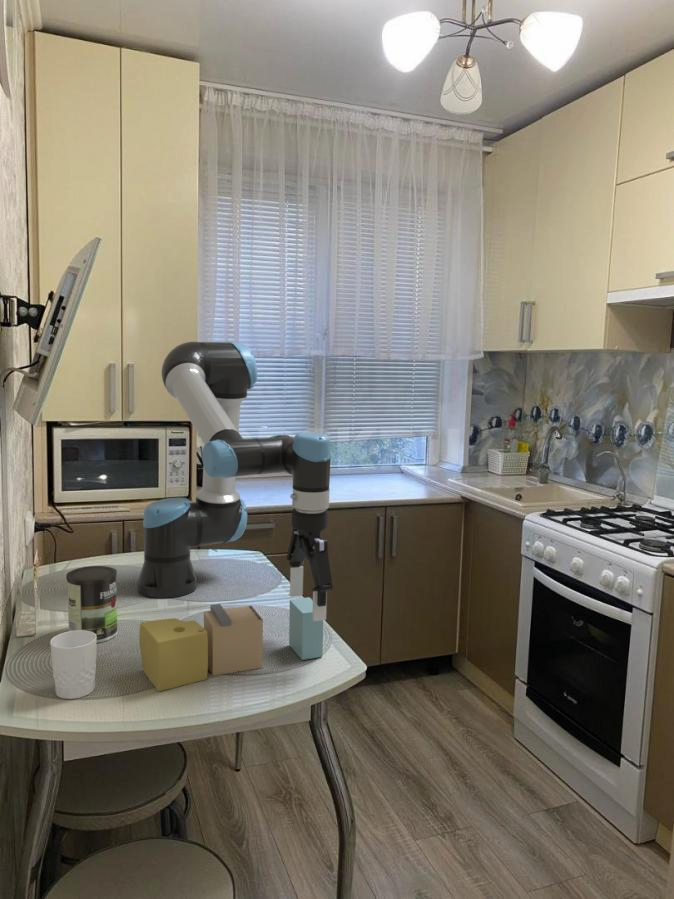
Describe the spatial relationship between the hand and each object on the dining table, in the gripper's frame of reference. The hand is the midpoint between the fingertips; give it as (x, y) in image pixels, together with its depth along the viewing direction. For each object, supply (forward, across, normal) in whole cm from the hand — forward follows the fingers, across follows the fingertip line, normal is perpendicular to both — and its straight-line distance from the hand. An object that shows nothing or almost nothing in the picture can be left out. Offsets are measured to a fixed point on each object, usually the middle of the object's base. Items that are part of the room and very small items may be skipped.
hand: (307, 607), depth 143 cm
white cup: (+10, +1, -46) cm, 47 cm away
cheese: (+10, +2, -28) cm, 30 cm away
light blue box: (+9, +1, 0) cm, 9 cm away
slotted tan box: (+10, +1, -16) cm, 19 cm away
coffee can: (+10, -23, -41) cm, 48 cm away
